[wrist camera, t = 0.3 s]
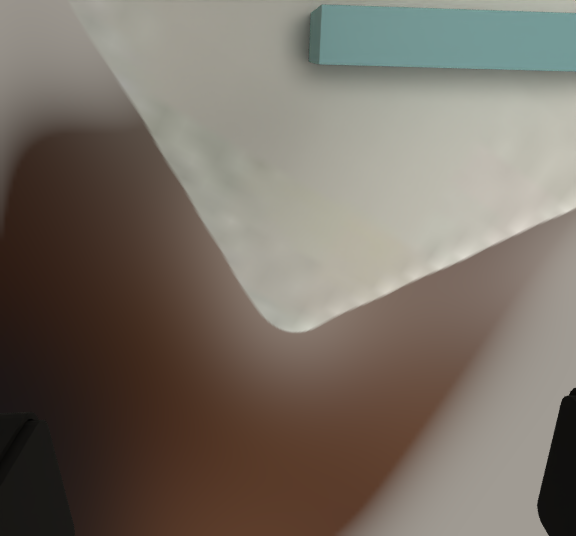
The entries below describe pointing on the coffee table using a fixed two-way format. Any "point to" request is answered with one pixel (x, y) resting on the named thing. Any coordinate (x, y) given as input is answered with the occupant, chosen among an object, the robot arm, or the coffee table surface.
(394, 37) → the teal plank
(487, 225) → the coffee table surface
